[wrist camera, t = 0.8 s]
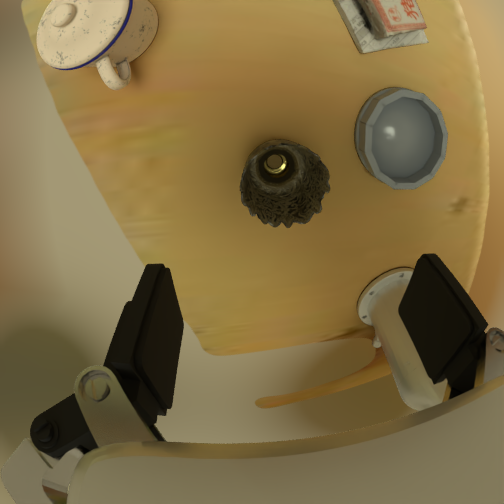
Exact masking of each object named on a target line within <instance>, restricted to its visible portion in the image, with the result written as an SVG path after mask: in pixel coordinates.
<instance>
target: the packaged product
mask: <svg viewBox="0 0 504 504" xmlns="http://www.w3.org/2000/svg"><path fill="white" fill-rule="evenodd" d="M333 2H334V4H335V6H336V7H337V9H338V11H339V13H340V15H341V17H342V19H343V21H344V22H345V24H346V26H347V28H348V30H349V32H350V34H351V36H352V38H353V40H354V42H355V45H356V47H357V49H358V50H359V52H360V53H369V52H375V51H379V50H384V49H388V48H397V47H404V46H411V45H417V44H422V43H429V42H428V40H427V38H426V35H425V33H424V29H426V28H427V27H426V24H425V21H424V19H423V16H422V14H421V11H420V9H419V7H418V5H417V3H416V1H415V0H333Z"/></svg>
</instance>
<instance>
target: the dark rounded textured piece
mask: <svg viewBox="0 0 504 504" xmlns="http://www.w3.org/2000/svg"><path fill="white" fill-rule="evenodd" d="M274 154H276V155H279V156H280V157H281V158H282V165H281V166H280V167H279V168H277V169H272V168H270V167H269V166H268V164H267V159H268V157H269V156H271V155H274ZM329 178H330V175H329V171H328V169H327V168H326V166H325V165H324V164H323V163H322V161H321V160H320V157H319V156H318V155H317V154H315V153H313V152H312V151H310V149H308V148H306V147H305V146H302V145H300V144H297V143H295V142H292V141H289V140H281V139H278V140H271V141H268V142H265V143H263V144H261V145H260V146H258V147H257V148H256V149H255V150H254V151H253V152H252V153H251V155H250V156H249V158H248V160H247V162H246V164H245V167H244V170H243V174H242V179H241V182H240V191H241V201H242V203H243V205H244V206H247V207H248V208H249V212H250V215H251V216H256V214H257V216H258V218H259V219H260V220H261V221H262V223H263V224H267V223H269V224H270V225H271V226H273V227H278V226H279V225H280V224H281V222H282V223H284V225H285V226H286V227H287V228H290V227H291V225H292V224H293V222H294V223H295V222H296V223H299V224H306V223H308V222H309V221H310V219H311V218H312V216H313V214H314V213H316V214H318V213H320V212H321V210H322V206H321V200H322V199H323V198H324V194H325V192H327V193H329V191H330V185H329V183H328V181H329Z"/></svg>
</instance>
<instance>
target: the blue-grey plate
mask: <svg viewBox="0 0 504 504" xmlns="http://www.w3.org/2000/svg"><path fill="white" fill-rule="evenodd" d="M354 138H355V146H356V150H357V154H358V156H359V158H360V160H361V162H362V164H363V165H364V167H365V168H366V169H367V170H368V171H369V172H370V173H371V174H372V175H373V176H374V177H376V178H377V179H378V180H380V181H382V182H384V183H386V184H387V185H389V186H390V187H391V188H393V189H416V188H418V187H419V186H421V185H422V184H424V183H426V182H427V181H429V180H431V179H432V178H433V177H434V176H435V174H436V172H437V171H438V169H439V167H440V166H441V164H442V162H443V161H444V159H445V155H446V147H447V138H448V132H447V129H446V126H445V122H444V119H443V116H442V113H441V111H440V109H439V108H438V107H437V106H436V105H435V104H434V103H433V102H432V101H431V100H430V99H429V98H428V97H427V96H426V95H425V94H423V93H418V92H414V91H412V90H409V89H405V88H398V87H392V88H386V89H383V90H380V91H378V92H376V93H375V94H373V95H372V96H371V97H370V98H369V99H368V100H367V101H366V102H365V103H364V105H363V106H362V108H361V110H360V112H359V114H358V117H357V120H356V124H355V132H354Z"/></svg>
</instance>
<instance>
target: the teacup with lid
mask: <svg viewBox="0 0 504 504" xmlns="http://www.w3.org/2000/svg"><path fill="white" fill-rule="evenodd" d="M157 27H158V15H157V12H156V10H155V8H154V6H153V5H152V4H151V3H150V2H149V1H148V0H52V1H51V3H50V4H49V5H48V7H47V8H46V10H45V12H44V14H43V16H42V18H41V20H40V23H39V27H38V31H37V47H38V51H39V53H40V55H41V57H42V59H43V60H44V61H45V62H46V63H47V64H49V65H50V66H52V67H54V68H56V69H60V70H73V69H77V68H81V67H97V69H98V72H99V74H100V76H101V78H102V80H103V81H104V83H105V84H106V85H107V86H108V87H109V88H111V89H113V90H119V89H122V88H124V87H125V86H127V85H128V84H129V82H130V79H131V69H130V65H129V62H131V61H132V60H134V59H136V58H137V57H138V56H140V55H141V54H142V53H143V52H144V51H145V50H146V49H147V48H148V46H149V45H150V44H151V42H152V40H153V39H154V37H155V34H156V31H157ZM113 67H117V70H118V74H119V76H118V75H117V74H116V72H115V70H114V68H113Z"/></svg>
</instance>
